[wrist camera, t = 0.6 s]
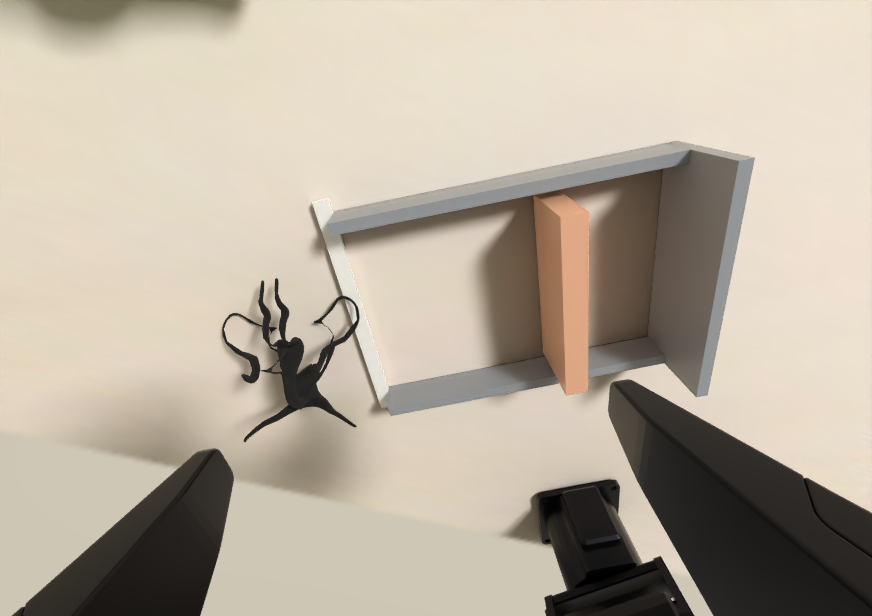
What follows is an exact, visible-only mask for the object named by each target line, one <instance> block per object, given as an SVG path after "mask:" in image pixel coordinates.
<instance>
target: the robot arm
mask: <svg viewBox="0 0 872 616" xmlns="http://www.w3.org/2000/svg"><path fill="white" fill-rule="evenodd" d="M608 412H609V417H610V420H611V422H612V424H613V427H614V429H615V431H616V433H617V436H618V438H619V440H620V443H621V445H622V447H623V450H624V452H625V454H626V457H627V459H628V461H629V463H630V466H631V468H632V470H633V473H634V475H635V477H636V479H637V481H638V483H639V485H640V487H641V489H642V491H643V492H644V494H645V496H646V498H647V499H648V501H649V503H650V505H651V506H652V508H653V510H654V512H655V513H656V515H657V517H658V519H659V521H660V522H661V524H662V526H663V528H664V529H665V531H666V533H667V535H668V536H669V538H670V540H671V542H672V543H673V545H674V547H675V549H676V550H677V552H678V554H679V556H680V557H681V559H682V561H683V563H684V565H685V566H686V568H687V570H688V572H689V573H690V575H691V577H692V579H693V580H694V582H695V584H696V586H697V587H698V589H699V591H700V593H701V594H702V596H703V598H704V600H705V601H706V603H707V605H708V607H709V609H710V610H711V612H712V614H713V615H714V616H872V513H871V512H869V511H867V510H865V509H864V508H862V507H860V506H858V505H856V504H854V503H852V502H851V501H849V500H847V499H845V498H843V497H841V496H839V495H838V494H836V493H834V492H832V491H830V490H828V489H827V488H825V487H823V486H821V485H819V484H818V483H816V482H814V481H812V480H810V479H809V478H803V476H802V475H801V474H799V473H798V472H796V471H794V470H792V469H790V468H789V467H787V466H785V465H783V464H781V463H780V462H778V461H776V460H774V459H772V458H771V457H769V456H767V455H765V454H764V453H762V452H760V451H758V450H756V449H755V448H753V447H751V446H749V445H747V444H746V443H744V442H742V441H740V440H738V439H737V438H735V437H733V436H731V435H729V434H728V433H726V432H724V431H722V430H720V429H719V428H717V427H715V426H713V425H711V424H710V423H708V422H706V421H704V420H703V419H701V418H699V417H697V416H695V415H694V414H692V413H690V412H688V411H686V410H685V409H683V408H681V407H679V406H677V405H676V404H674V403H672V402H670V401H668V400H667V399H665V398H663V397H661V396H659V395H658V394H656V393H654V392H652V391H650V390H649V389H647V388H645V387H643V386H642V385H640V384H638V383H636V382H634V381H632V380H628V379H627V380H621V381H615V382H613V383H611V385H610V392H609V405H608ZM233 481H234V477H233V472H232V470H231V468H230V466H229V465H228V463H227V461H226V460H225V458H224V456H223V455H222V453H221V452H220V450H218V449H208V450H202V451H199V452H197V453H195V454H194V455H193V456H192V457H191V458H190V459H188V460H187V461H186V462H185V463H184V464H183V465H182V466H181V467H179V468H178V469H177V470H176V471H175V472H174V473H173V474H172V475H170V477H168V478H167V479H166V480H165V481H164V482H163V483H161V484H160V485H159V486H158V487H157V488H156V489H155V490H153V491H152V492H151V493H150V494H149V495H148V496H147V497H146V498H144V499H143V500H142V501H141V502H140V503H139V504H138V505H137V506H135V508H133V509H132V510H131V511H130V512H129V513H128V514H126V515H125V516H124V517H123V518H122V519H121V520H120V521H118V522H117V523H116V524H115V525H114V526H113V527H112V528H111V529H109V530H108V531H107V532H106V533H105V534H104V535H103V536H102V537H100V538H99V539H98V540H97V541H96V542H95V543H94V544H92V545H91V546H90V547H89V548H88V549H87V550H86V551H85V552H84V553H82V554H81V555H80V556H79V557H78V558H77V559H76V560H75V561H73V562H72V563H71V564H70V565H69V566H68V567H66V568H65V569H64V570H63V571H62V572H61V573H60V574H59V575H58V576H56V577H55V578H54V579H53V580H52V581H51V582H50V583H48V584H47V585H46V586H45V587H44V588H43V589H42V590H41V591H40V592H38V593H37V594H36V595H35V596H34V597H33V598H31V599H30V600H29V601H28V602H27V603H26V606H25V607H21V608H20V609H19V610H18V611H17V612H16V613H14V614H13V615H12V616H200V615H201V611H202V608H203V604H204V601H205V598H206V594H207V591H208V588H209V585H210V582H211V578H212V575H213V571H214V568H215V565H216V561H217V558H218V554H219V551H220V547H221V542H222V537H223V533H224V527H225V522H226V517H227V512H228V507H229V502H230V497H231V492H232V487H233ZM619 493H620V486H619V484H618V482H617V481H616V480H608V481H603V482H598V483H592V484H587V485H582V486H576V487H571V488H566V489H560V490H555V491H549V492H544V493H540V494H539V495H538V496H537V505H538V516H539V526H540V537H541V540H542V543H543V544H552V546H553V549H554V552H555V555H556V558H557V561H558V564H559V567H560V570H561V573H562V576H563V580H564V582H565V585H566V588H567V591H565V592H562V593H559V594H556V595H554V596H552V595H549V596H546V597H545V603H546V608H547V609H546V610H545V613H546V616H694V614H693V613H692V611H691V609H690V607H689V606H688V604H687V602H686V600H685V598H684V597H683V595H682V593H681V591H680V590H679V588H678V586H677V584H676V583H675V581H674V579H673V577H672V575H671V574H670V572H669V570H668V568H667V566H666V565H665V563H664V561H663V559H662V558H661V556H659V557H656V558H653V559H654V560H653V561H650V562H647V563H644V564H643V563H642V561H641V559H640V557H639V555H638V553H637V551H636V549H635V547H634V545H633V543H632V541H631V539H630V537H629V535H628V533H627V531H626V529H625V527H624V525H623V523H622V521H621V520H620V518H619V516H618V508H619ZM671 598H674V601H672V600H671Z"/></svg>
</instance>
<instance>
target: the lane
mask: <svg viewBox="0 0 872 616" xmlns="http://www.w3.org/2000/svg"><path fill="white" fill-rule="evenodd" d="M754 159H755V158H753V157H749V156H744V155H740V154H735V153H730V152H726V151H721V150H716V149H712V148H707V147H703V146H698V145H693V144H689V143H684V142H680V141H675V142H670V143H665V144H660V145H655V146H651V147H646V148H641V149H636V150H631V151H626V152H621V153H617V154H612V155H607V156H602V157H597V158H592V159H587V160H582V161H578V162H573V163H568V164H563V165H558V166H553V167H548V168H543V169H539V170H534V171H529V172H524V173H519V174H514V175H509V176H504V177H500V178H495V179H490V180H485V181H480V182H475V183H470V184H465V185H461V186H456V187H451V188H446V189H441V190H436V191H431V192H427V193H422V194H417V195H412V196H407V197H402V198H397V199H392V200H388V201H383V202H378V203H373V204H368V205H363V206H358V207H353V208H349V209H344V210H339V211H333V208H332V205H331V201H330V198H326V199H321V200H316V201H313V202H312V205H313V208H314V211H315V213H316V216H317V219H318V222H319V225H320V228H321V231H322V234H323V237H324V240H325V243H326V246H327V249H328V252H329V255H330V258H331V261H332V264H333V267H334V270H335V273H336V276H337V279H338V282H339V285H340V287H341V290H342V293H343V296H347V297H349V298H351V299H352V300H353V301H354V302H355V303H356V305H357V306H358V309H359V316H360V319H359V323H358V326H357V328H356V330H355V332H356V335H357V338H358V341H359V344H360V347H361V350H362V353H363V356H364V359H365V361H366V364H367V367H368V370H369V373H370V376H371V379H372V382H373V385H374V388H375V391H376V394H377V397H378V400H379V403H380V406H381V408H386V407H388V410H389V413H390V416H393V415H398V414H403V413H408V412H414V411H419V410H424V409H429V408H434V407H440V406H445V405H450V404H455V403H460V402H465V401H471V400H476V399H481V398H486V397H491V396H496V395H502V394H507V393H512V392H517V391H522V390H528V389H533V388H538V387H543V386H548V385H553V384H559V381H558V379H557V378H556V376H555V374H554V372H553V370H552V368H551V366H550V364H549V362H548V360H547V359H546V357H539V358H534V359H529V360H524V361H519V362H514V363H509V364H504V365H498V366H493V367H488V368H483V369H478V370H473V371H468V372H462V373H457V374H452V375H447V376H442V377H437V378H432V379H426V380H421V381H416V382H411V383H406V384H401V385H396V386H391V387H389V386H388V383H387V380H386V376H385V373H384V370H383V367H382V364H381V360H380V357H379V354H378V351H377V348H376V345H375V341H374V338H373V335H372V332H371V329H370V325H369V322H368V319H367V316H366V313H365V310H364V306H363V303H362V300H361V297H360V294H359V290H358V287H357V284H356V281H355V278H354V275H353V271H352V268H351V265H350V262H349V259H348V255H347V252H346V249H345V246H344V243H343V240H342V236H341V234H344V233H349V232H354V231H359V230H364V229H369V228H374V227H379V226H383V225H388V224H393V223H398V222H403V221H408V220H413V219H418V218H423V217H428V216H432V215H437V214H442V213H447V212H452V211H457V210H462V209H467V208H472V207H477V206H482V205H486V204H491V203H496V202H501V201H506V200H511V199H516V198H521V197H526V196H531V195H535V194H540V193H545V192H550V191H555V190H560V189H565V188H570V187H575V186H580V185H585V184H589V183H594V182H599V181H604V180H609V179H614V178H619V177H624V176H629V175H634V174H638V173H643V172H648V171H653V170H658V169H663V172H662V183H661V194H660V205H659V216H658V227H657V237H656V248H655V259H654V270H653V281H652V291H651V302H650V313H649V324H648V335H647V337H642V338H637V339H632V340H627V341H622V342H617V343H611V344H606V345H601V346H596V347H591V348H588V378H590V377H595V376H600V375H605V374H610V373H616V372H621V371H626V370H631V369H636V368H642V367H647V366H652V365H657V364H662V363H665V364H666V365H667V366H668V368H669V369H670V370H671V371H672V372H673V373H674V374H675V375H676V376H677V377H678V378H679V379H680V380H681V381H682V382H683V384H684V385H685V386H686V387H687V388H688V389H689V390H690V391H691V392H692V393H693V394H694V395H695V396H696V397H700V396H705V395H708V390H709V385H710V380H711V375H712V370H713V365H714V360H715V355H716V350H717V345H718V340H719V335H720V330H721V325H722V320H723V315H724V310H725V305H726V300H727V295H728V289H729V284H730V279H731V274H732V269H733V264H734V259H735V254H736V249H737V244H738V239H739V234H740V229H741V224H742V219H743V214H744V209H745V204H746V199H747V194H748V189H749V184H750V179H751V174H752V169H753V164H754ZM345 302H346V305H347V308H348V311H349V314H350V317H351V320H352V323H353V324H354V323H355V322H356V320H357V317H356V310H355V306H354V305H353V304H352V302H351V301H348V300H346V299H345Z"/></svg>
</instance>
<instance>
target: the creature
mask: <svg viewBox="0 0 872 616" xmlns="http://www.w3.org/2000/svg"><path fill="white" fill-rule="evenodd" d="M263 294H264V281H261V288H260V297H259V301H258V302H259V306H260V310H261V312H262V314H263V315H264V318H263V325H259V324H257V323H255V322H253V321H252V320H250V319H248V318H246V317H245V316H243V315H241V314H238V313H233V314H230V315H229V316H228V317H227V319H226V320H225V322H224V324H223V329H222V332H223V338H224V340H225V342H226V344H227V345H228V346H229V347H230V348H231V349H232V350H233V351H234V352H235V353H236V354H238V355H240V356H242V357H244V358H246V359H247V360H249V361H250V364H251V367H252V372H251V375H250V376H248V375H245V374H242V375H241V376H242V378H243V379H244V381H246V382H248V383H255V382H256V381H257V379H258V377H259V373H260V364H259V360H258V358H257V356H254V355H252V354H250V353H246V352H243V351H241V350H239V349H238V348H236V347H235V346H233V345H232V344H230V343H229V342H227V339H226V336H225V332H224V327H225V324H226V321H227V320H228V319H229V318H230V317H231V316H232V315H239V316H241V317H243V318H245V319H246V320H247V321H249V322H250V323H253V324H256V325H258V326H261V327H262V332H263V338H264V340H265V341H266V342H267V343H268V344H269V347H270V348H271V349H273V350H275V351H276V352H277V353H278V356H279V360H280V367H281V370H282V372H272V368H273V367H274V365H275V364H276V363H277V362H278V361H279V360H278V361H277V362H276V363H275V364H274V365H273V366H272V367H271V368H269V369H267V370H261V371H264V372H268V373H273V374H278V373H280V374H281V375H282V378H283V385H284V392H285V397H286V400H287V402H288V404H289V405H288V406H286V407H285V408H284V409H283V410H282V411H280V412H279V413H278V414H276V415H274V416H273V417H271V418H269V419H267V420H265V421H263V422H262V423H261V424H259V425H258V426H257V427H256V428H254V429H253V430H252V431H251V432H250V433H249V434H248V435H247V436H246V437H245V439H244V442H246V440H247V439H248V438H249V437H251V436H252V435H253V434H254V433H256V432H257V431H259V430H260V429H261V428H263V427H264V426H267V425H269V424H271V423H274V422H276V421H278V420H280V419H282V418H283V417H285V416H287V415H288V414H290V413H292V412H294V411H296V410H298V409H300V410H301V409H302V408H305V407H318V408H321V409H323V410H325V411H327V412H328V413H330V414H332V415H335V416H336V417H338V418H340V419H342V420H343V421H345V422H346V423H348V424H349V425H351V426H353V427H356V425H355V424H353V423H352V422H351V421H349V420H348V419H346V418H345V417H344V416H343V415H341V414H340V413H338V412H337V411H336V410H335V409H334V408H333V407H332V406H331V405H330V403H329V402H328V400H327V399H326V398H324V397H323V396H322V395H321V394H320V393H319V391H318V389H317V385H316V383H317V381H318V380H319V379H320V378H321V376H322V374H323V373H324V371H325V369H326V368H327V365H328V363H329V361H330V359H331V357H332V355H333V352H334V349H335V346H337V345H339V344H341V343H343V342H345V341H346V340H347V339H348V338H349V337H350V336H351V334H352V333H353V332H354V331H355V330H356V328H357V326H358V323H359V319H360V316H359V309H358V306H357V305H356V303H355V302H354V301H353V300H352V299H351V298H349V297H347V296H340V297H338V298H337V299H336V300H335V302H334V304H333V305H332V306H331V308H330V309H329V311H328V312H327V313H326V314H325V315H324V316H323V317H321V318H320V319H319V320H316V321H314V323H319V324H323V323H322V320H323V319H324V318H325V317H326V316H327V315H328V314H329V313H330V312H331V311H332V310H333V308H334V307H335V305H336V303H337V302H338V300H341V299H343V298H344V299H346V300H348V301H351V302H352V304H353V305H354V306H355V310H356V317H357V320H356V322H355V323H354V324H353V325H352V327H351V328H350V329H349V331H348V332H347V333H346V334H345V336H344V337H342V338H340V339H338V340H336V341H334V342H333V338H334V336H333V337H332V340H331V343H330V344H329V345H327V346H326V347H325V348H323V349H322V351H321V353H320V358H319V361H318V363H317V364H313V365H312V364H310V365H309V366H308V367H306V368H305V369H304V370H302V371H301V372H300V373H299V374H296V373H297V370H298V367H299V365H300V362H301V360H302V357H303V353H304V345H303V342H302V340H301V339H300V338H297V337H294V338H292V340H291V341H290V342H288V341H287V340H286V338H285V330H286V322H287V319H288V317H289V310H288V308H287V307H286V306H285V305H284V304H283V303H282V302H281V300H280V298H279V295H278V279H277V278H276V279H275V300H276V303H277V306H278V307H279V309H280V310H281V318H280V322H279V331H280V335H281V338H282V339H283V340H278V341H277V342H275V344H273V345H272V344H270V341H269V338H270V336H269V329H270V331H271V333H272V331H274V330H275V329H277V328H275V327H269V323H270V320H271V314H270V311H269V310H268V308H267V307H266V306H265V305H264V303H263ZM323 325H324V324H323ZM324 326H325V325H324ZM326 327H327V326H326ZM328 329H329V328H328ZM329 330H330V329H329ZM330 331H331V330H330ZM331 333H332V332H331ZM271 346H274V347H276V346H277V350H276V349H274V348H272V347H271ZM327 354H328V355H327ZM326 356H327V359H326ZM325 359H326V363H325V365H324V367H323V369H322V371H321V372H320V370H321V368H322V366H323V363H324V361H325Z"/></svg>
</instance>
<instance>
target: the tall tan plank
mask: <svg viewBox="0 0 872 616" xmlns="http://www.w3.org/2000/svg"><path fill="white" fill-rule="evenodd" d="M533 198H534V214H535V230H536V245H537V261H538V277H539V293H540V309H541V324H542V340H543V353H544V355H545V357H546V359H547V360H548V362H549V364H550V366H551V368H552V370H553V372H554V374H555V376H556V378H557V379H558V381H559V383H560V385H561V387H562V389H563V391H564V393H565V395H572V394H577V393H582V392H587V391H588V293H589V211H587V210H586V209H585V208H583V207H582V206H580V205H579V204H577V203H576V202H574V201H573V200H572V199H570V198H569V197H567V196H566V195H564V194H563V193H561V192H560V191H559V190H555V191H550V192H545V193H540V194H535V195H533Z"/></svg>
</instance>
